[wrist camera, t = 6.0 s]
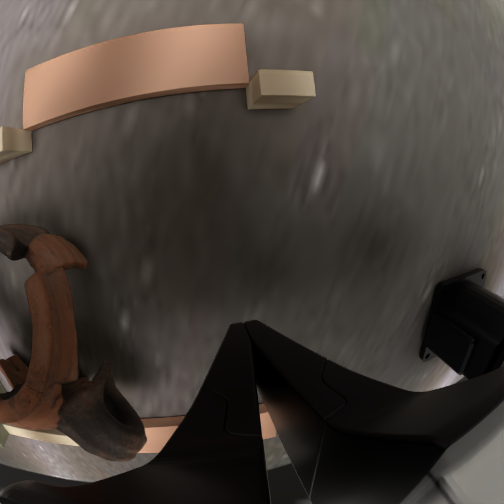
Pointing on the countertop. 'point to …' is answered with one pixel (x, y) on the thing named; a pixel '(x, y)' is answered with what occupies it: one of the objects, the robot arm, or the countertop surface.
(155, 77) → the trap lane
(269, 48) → the countertop surface
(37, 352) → the pottery mug
